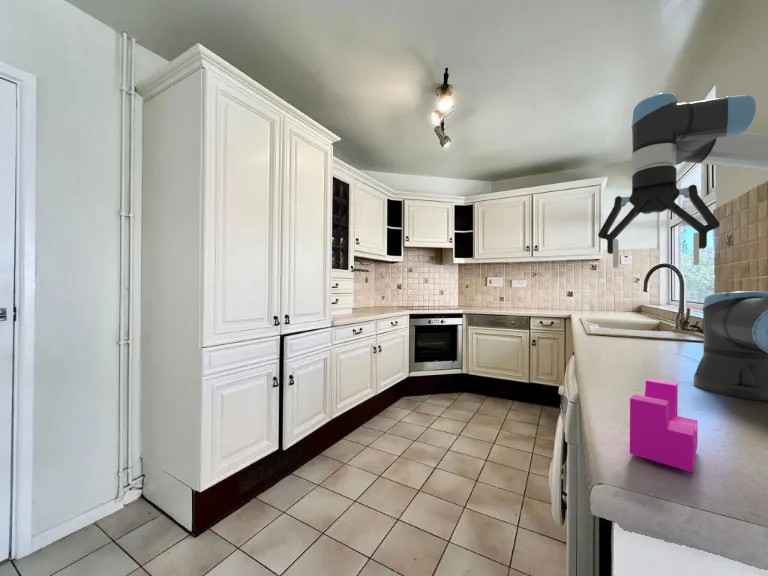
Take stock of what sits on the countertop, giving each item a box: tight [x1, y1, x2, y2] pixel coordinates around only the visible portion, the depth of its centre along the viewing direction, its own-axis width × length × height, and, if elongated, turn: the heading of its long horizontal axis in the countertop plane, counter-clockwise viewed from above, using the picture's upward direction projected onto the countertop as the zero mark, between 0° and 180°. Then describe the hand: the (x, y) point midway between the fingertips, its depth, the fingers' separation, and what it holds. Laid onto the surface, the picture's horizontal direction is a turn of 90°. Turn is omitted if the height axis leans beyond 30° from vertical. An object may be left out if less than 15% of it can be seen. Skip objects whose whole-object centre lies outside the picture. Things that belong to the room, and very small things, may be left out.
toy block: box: [629, 378, 699, 473], centre depth 47 cm, size 15×6×8 cm, turn 134°
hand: (653, 266), depth 71 cm, fingers open, 13 cm apart
